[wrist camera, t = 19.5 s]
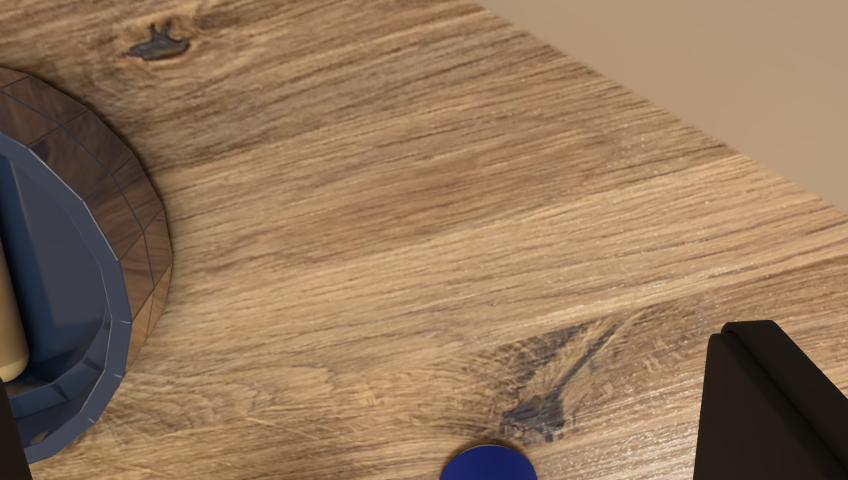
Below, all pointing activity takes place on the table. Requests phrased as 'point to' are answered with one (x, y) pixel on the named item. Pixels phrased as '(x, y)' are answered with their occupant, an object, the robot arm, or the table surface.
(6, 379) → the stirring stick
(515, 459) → the beverage can
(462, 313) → the table surface
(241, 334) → the table surface
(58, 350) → the bowl
